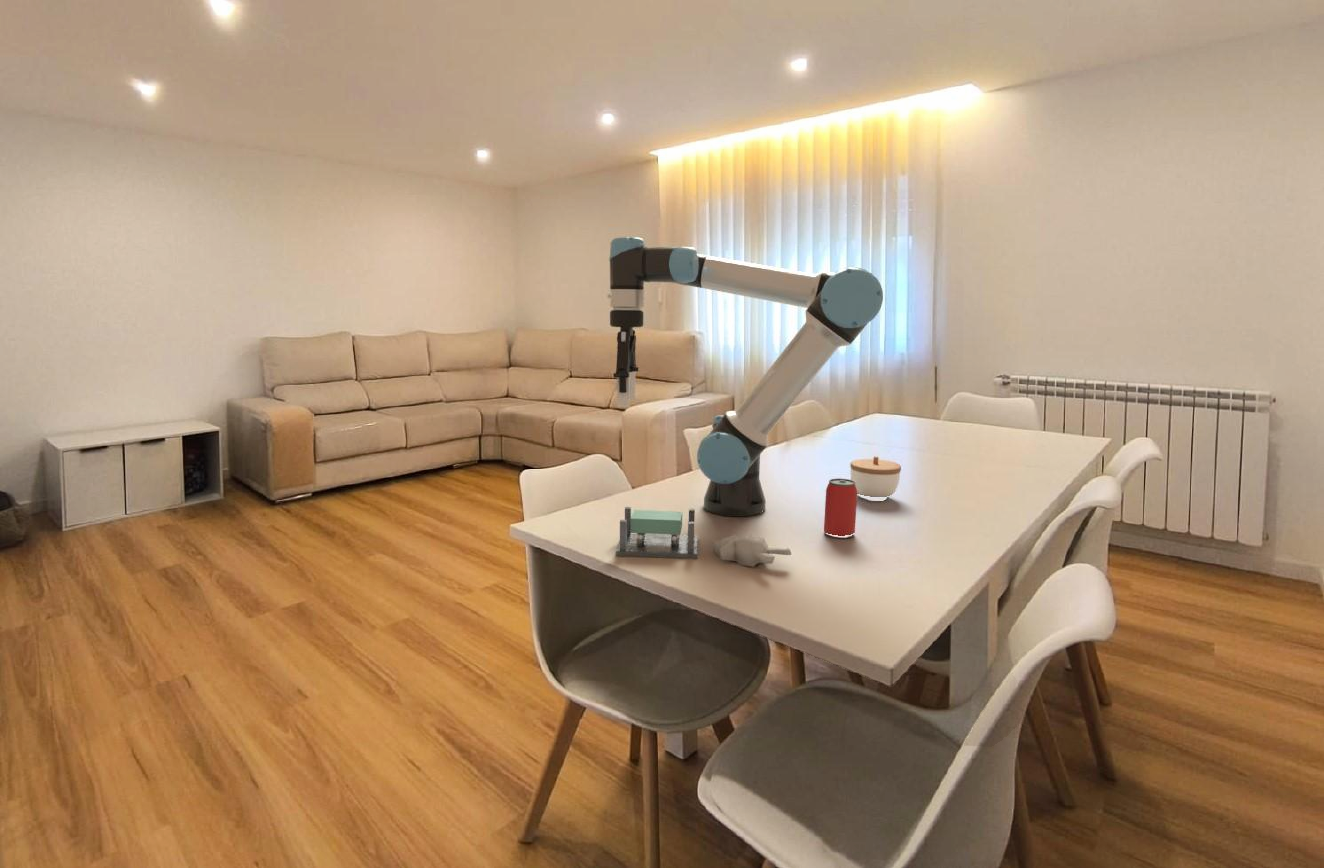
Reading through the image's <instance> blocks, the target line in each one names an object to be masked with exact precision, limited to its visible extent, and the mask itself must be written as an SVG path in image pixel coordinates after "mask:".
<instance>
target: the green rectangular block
mask: <svg viewBox="0 0 1324 868" xmlns="http://www.w3.org/2000/svg"><path fill="white" fill-rule="evenodd" d="M682 527H683V511H677V510H676V511H675V510H674V511H673V510H654V509H653V510H650V509H649V510H648V509H633V512H632V513H631V518H630V533H631V534H637V533H645V534H664V535H682V529H683V528H682Z"/></svg>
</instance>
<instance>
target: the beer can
mask: <svg viewBox="0 0 1324 868" xmlns="http://www.w3.org/2000/svg"><path fill="white" fill-rule="evenodd" d="M855 484H856V483H855V482H854V481H852V480H851V479H847V478H841V477H840V478H831V479H829V480H828V484H827V486H826V489H825V503H824V517H823V518H824V520H823V532H824V534H825V533H828V534H832V535H838V536H845V535H851V534H853V533H856V521H857V520H856V519H857V505H858V494H857V489H856V486H855Z"/></svg>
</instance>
